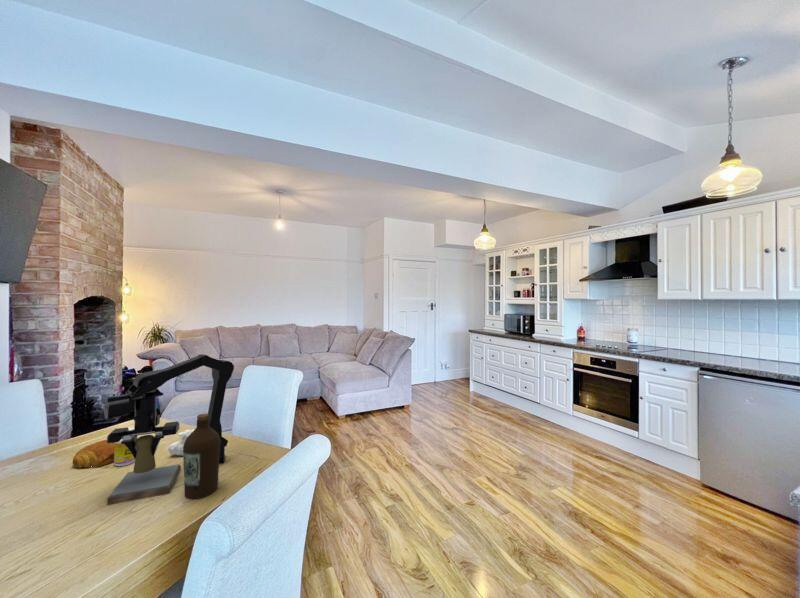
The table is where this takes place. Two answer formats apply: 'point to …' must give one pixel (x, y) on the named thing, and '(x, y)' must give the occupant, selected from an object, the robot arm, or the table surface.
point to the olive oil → (201, 460)
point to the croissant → (95, 455)
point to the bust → (179, 443)
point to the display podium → (145, 484)
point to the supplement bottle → (122, 454)
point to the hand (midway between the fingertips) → (144, 457)
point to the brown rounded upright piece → (144, 454)
